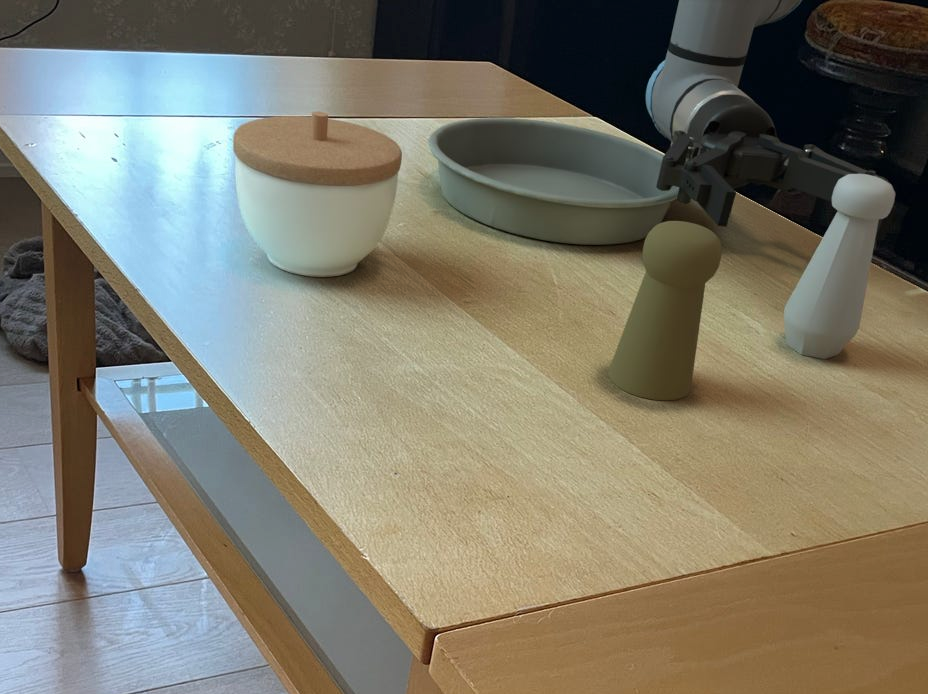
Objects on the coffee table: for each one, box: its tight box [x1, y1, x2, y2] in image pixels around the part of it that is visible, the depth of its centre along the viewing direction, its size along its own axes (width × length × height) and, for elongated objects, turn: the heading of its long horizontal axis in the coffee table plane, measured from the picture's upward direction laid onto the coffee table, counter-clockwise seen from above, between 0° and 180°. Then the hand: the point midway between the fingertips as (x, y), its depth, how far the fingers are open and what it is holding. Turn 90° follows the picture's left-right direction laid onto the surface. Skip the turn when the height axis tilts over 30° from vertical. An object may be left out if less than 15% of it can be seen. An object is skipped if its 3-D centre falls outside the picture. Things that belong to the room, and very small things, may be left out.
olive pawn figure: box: [607, 220, 722, 401], centre depth 79 cm, size 6×6×11 cm
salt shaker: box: [783, 174, 896, 360], centre depth 87 cm, size 6×6×13 cm
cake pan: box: [427, 117, 679, 246], centre depth 109 cm, size 25×25×4 cm
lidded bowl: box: [232, 111, 403, 278], centre depth 89 cm, size 13×13×11 cm
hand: (807, 216), depth 92 cm, fingers open, 13 cm apart
